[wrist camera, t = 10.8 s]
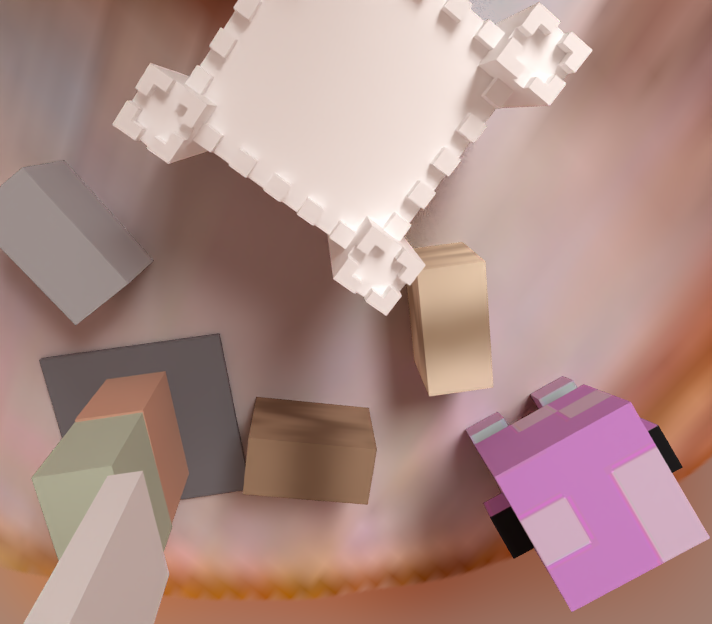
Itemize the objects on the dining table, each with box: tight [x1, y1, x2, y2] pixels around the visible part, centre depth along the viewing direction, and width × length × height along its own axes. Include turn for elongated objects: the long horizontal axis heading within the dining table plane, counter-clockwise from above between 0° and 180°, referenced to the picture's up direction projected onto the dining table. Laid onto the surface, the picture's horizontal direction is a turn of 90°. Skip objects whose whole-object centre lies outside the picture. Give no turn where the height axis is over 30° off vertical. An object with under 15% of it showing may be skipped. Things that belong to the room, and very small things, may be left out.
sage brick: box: [31, 412, 172, 560], centre depth 35 cm, size 8×4×6 cm, turn 8°
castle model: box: [112, 0, 592, 316], centre depth 32 cm, size 14×14×15 cm
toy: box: [466, 376, 710, 612], centre depth 40 cm, size 11×8×15 cm
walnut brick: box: [243, 397, 377, 505], centre depth 43 cm, size 8×4×6 cm, turn 82°
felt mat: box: [39, 334, 246, 499], centre depth 44 cm, size 12×12×1 cm
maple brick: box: [406, 242, 493, 396], centre depth 40 cm, size 8×4×6 cm, turn 7°
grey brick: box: [0, 160, 154, 325], centre depth 37 cm, size 8×4×6 cm, turn 37°
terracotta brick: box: [75, 371, 189, 524], centre depth 41 cm, size 8×4×6 cm, turn 7°
